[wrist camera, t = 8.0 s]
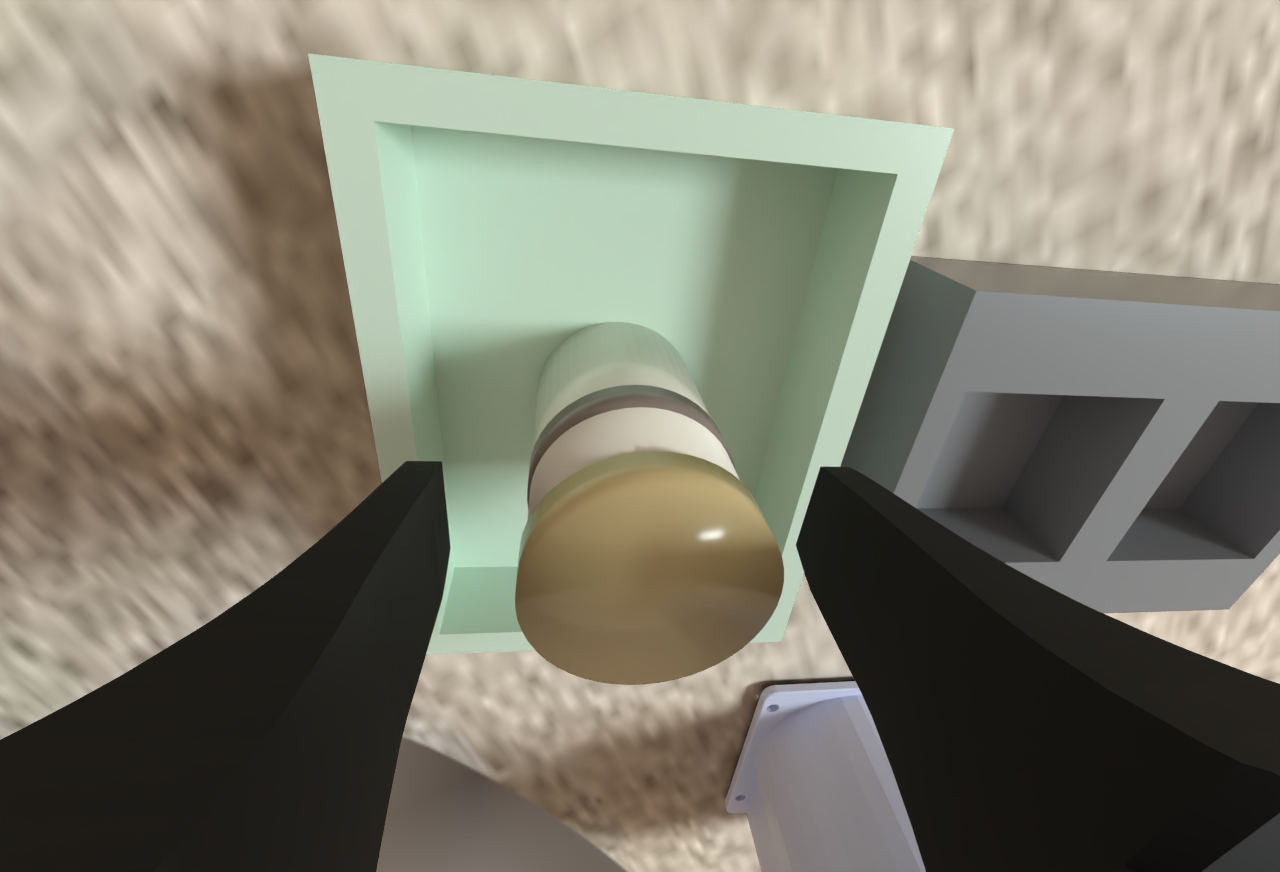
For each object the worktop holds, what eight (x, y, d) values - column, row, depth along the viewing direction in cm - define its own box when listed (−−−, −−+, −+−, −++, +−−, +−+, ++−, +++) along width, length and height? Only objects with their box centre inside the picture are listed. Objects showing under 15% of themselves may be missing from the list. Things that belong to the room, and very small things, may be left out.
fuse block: (1149, 548, 21) (1228, 609, 19) (804, 551, 19) (840, 621, 17) (1342, 289, 16) (1487, 325, 14) (901, 255, 14) (976, 290, 12)
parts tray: (752, 569, 19) (781, 641, 17) (432, 575, 18) (411, 655, 15) (873, 121, 12) (954, 128, 10) (367, 63, 11) (308, 53, 8)
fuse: (685, 460, 16) (758, 676, 10) (536, 463, 15) (521, 693, 9) (702, 319, 14) (810, 487, 8) (530, 316, 13) (506, 493, 7)
